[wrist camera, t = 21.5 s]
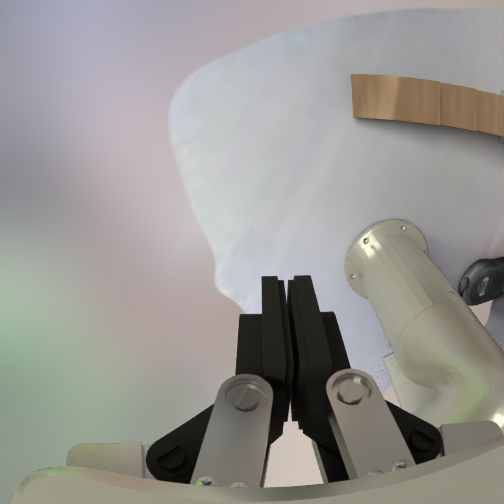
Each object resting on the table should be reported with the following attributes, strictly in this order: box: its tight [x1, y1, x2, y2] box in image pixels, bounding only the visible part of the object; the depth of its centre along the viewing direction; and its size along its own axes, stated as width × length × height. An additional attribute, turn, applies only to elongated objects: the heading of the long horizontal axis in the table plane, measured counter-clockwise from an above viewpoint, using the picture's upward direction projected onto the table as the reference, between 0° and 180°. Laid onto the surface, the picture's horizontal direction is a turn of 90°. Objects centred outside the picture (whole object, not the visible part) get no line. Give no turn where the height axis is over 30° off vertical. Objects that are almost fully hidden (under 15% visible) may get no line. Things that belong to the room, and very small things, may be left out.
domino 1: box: [351, 74, 440, 125], centre depth 27 cm, size 2×5×10 cm
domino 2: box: [440, 83, 477, 131], centre depth 27 cm, size 2×5×10 cm
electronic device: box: [459, 257, 504, 306], centre depth 40 cm, size 9×6×15 cm
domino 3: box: [476, 90, 504, 137], centre depth 26 cm, size 2×5×10 cm
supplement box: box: [384, 354, 437, 413], centre depth 44 cm, size 9×9×15 cm
